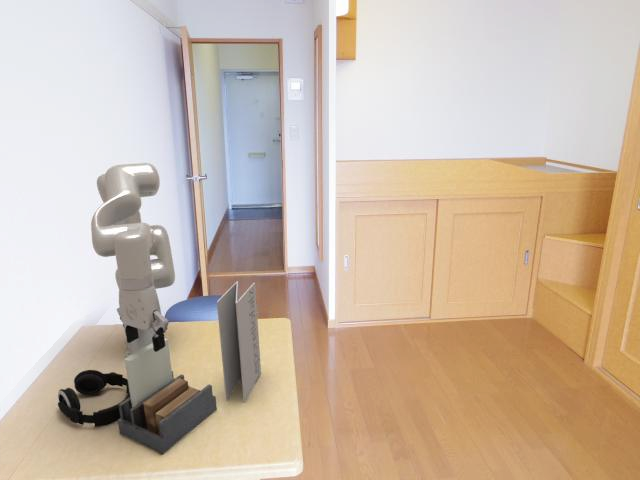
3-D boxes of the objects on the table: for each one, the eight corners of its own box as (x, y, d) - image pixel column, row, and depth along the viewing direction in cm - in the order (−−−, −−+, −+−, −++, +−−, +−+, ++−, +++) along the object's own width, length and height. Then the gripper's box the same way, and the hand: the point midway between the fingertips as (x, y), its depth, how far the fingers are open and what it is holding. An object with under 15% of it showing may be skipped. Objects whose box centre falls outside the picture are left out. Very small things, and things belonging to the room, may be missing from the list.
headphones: (84, 360, 135) (148, 372, 133) (86, 383, 138) (149, 395, 135) (39, 398, 119) (110, 413, 116) (42, 423, 121) (112, 438, 118)
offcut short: (159, 438, 115) (155, 413, 113) (193, 411, 125) (191, 387, 123) (167, 443, 114) (164, 417, 112) (202, 414, 124) (199, 390, 122)
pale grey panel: (135, 427, 119) (124, 359, 113) (170, 401, 129) (162, 337, 123) (140, 430, 118) (129, 361, 112) (176, 403, 128) (167, 339, 122)
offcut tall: (147, 433, 117) (143, 403, 114) (183, 406, 127) (179, 378, 124) (156, 437, 116) (151, 406, 113) (191, 410, 126) (187, 381, 123)
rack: (119, 433, 117) (114, 406, 115) (176, 392, 133) (172, 368, 130) (162, 454, 110) (158, 426, 108) (216, 408, 126) (214, 383, 123)
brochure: (244, 403, 128) (236, 303, 119) (225, 400, 129) (216, 301, 120) (261, 373, 141) (255, 282, 132) (243, 372, 142) (236, 281, 133)
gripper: (100, 280, 113) (110, 343, 118) (149, 293, 105) (158, 360, 110) (125, 271, 120) (135, 331, 124) (174, 281, 111) (182, 345, 116)
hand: (146, 344), depth 117 cm, fingers open, 9 cm apart
